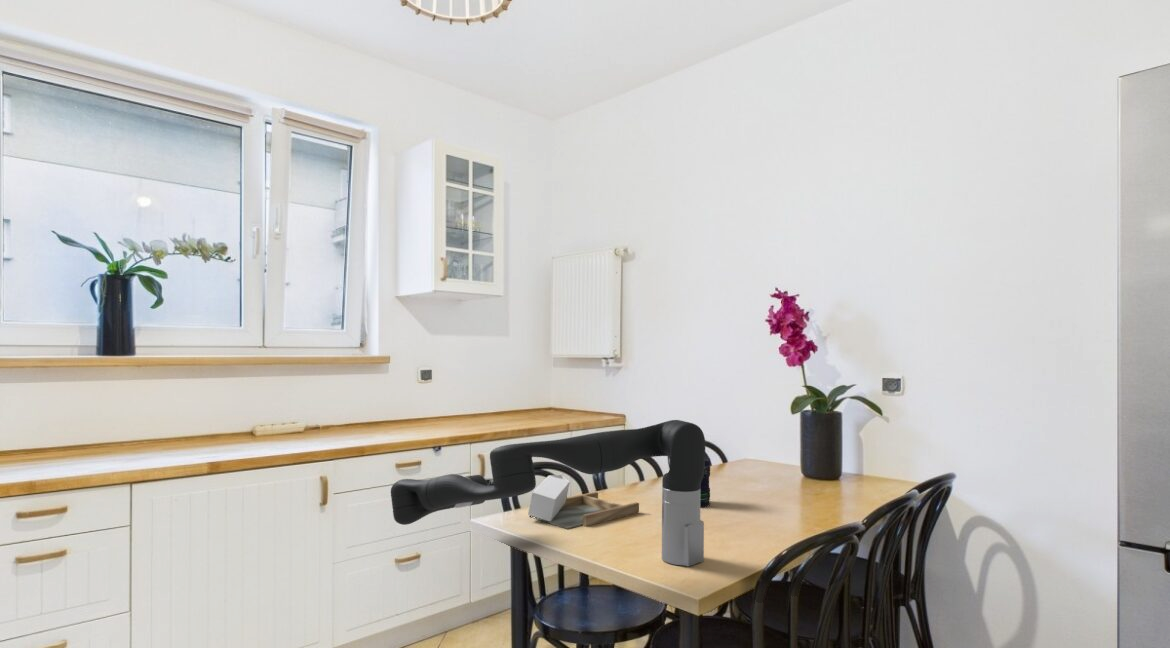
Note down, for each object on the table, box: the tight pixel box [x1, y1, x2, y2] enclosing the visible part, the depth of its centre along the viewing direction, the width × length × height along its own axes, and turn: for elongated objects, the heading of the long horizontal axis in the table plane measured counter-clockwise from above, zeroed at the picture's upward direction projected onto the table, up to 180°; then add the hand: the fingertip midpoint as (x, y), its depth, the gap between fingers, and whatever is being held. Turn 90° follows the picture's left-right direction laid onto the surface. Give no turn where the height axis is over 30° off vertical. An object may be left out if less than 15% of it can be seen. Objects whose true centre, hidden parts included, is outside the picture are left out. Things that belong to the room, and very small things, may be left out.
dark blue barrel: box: [700, 456, 711, 508], centre depth 204 cm, size 10×10×15 cm
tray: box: [529, 491, 640, 530], centre depth 189 cm, size 19×29×3 cm
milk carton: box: [528, 473, 571, 522], centre depth 188 cm, size 7×7×19 cm
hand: (518, 482), depth 172 cm, fingers closed
